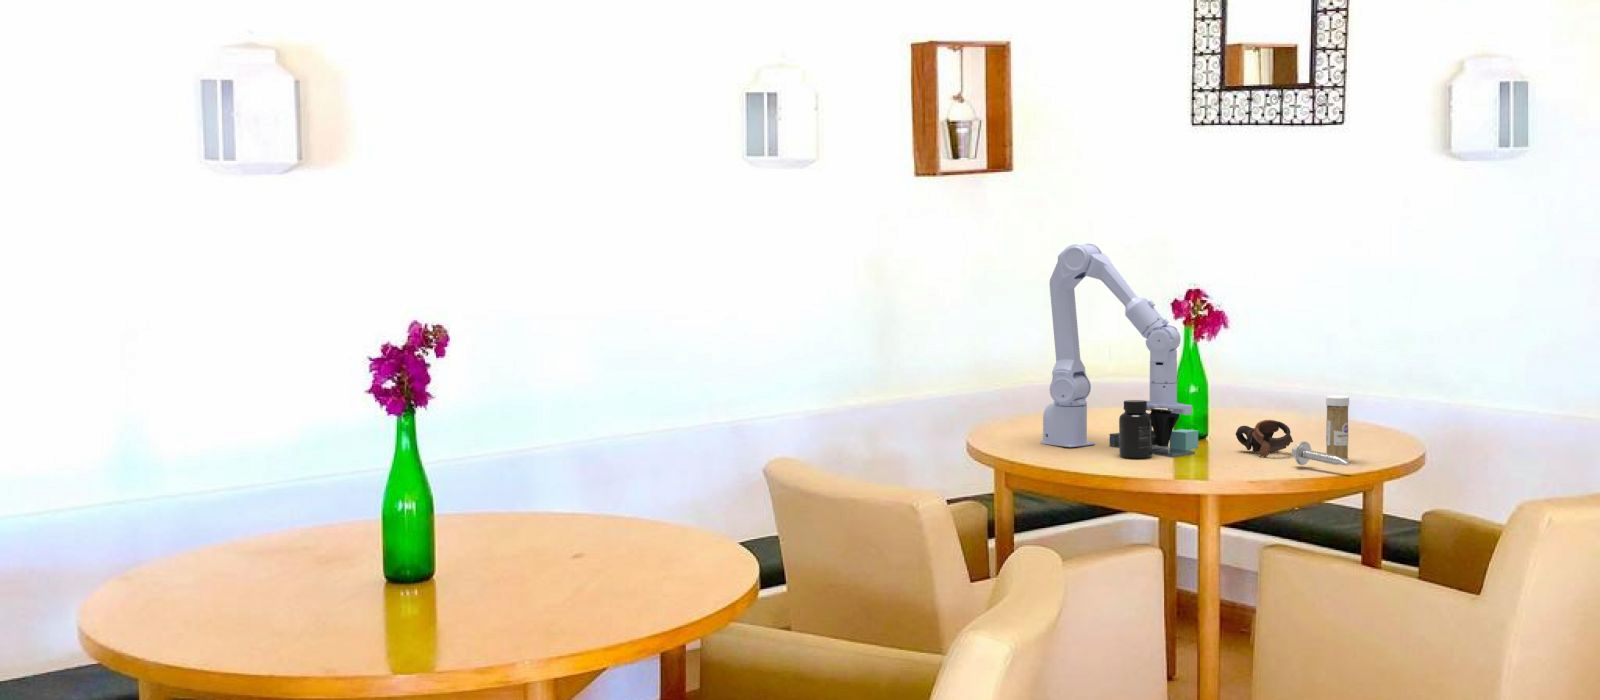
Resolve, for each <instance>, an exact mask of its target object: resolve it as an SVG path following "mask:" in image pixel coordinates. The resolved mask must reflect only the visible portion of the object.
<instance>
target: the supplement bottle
mask: <svg viewBox="0 0 1600 700" xmlns="http://www.w3.org/2000/svg"><path fill="white" fill-rule="evenodd" d="M1147 401H1148V400H1143V399H1129V400H1128V399H1127V400H1124V401H1123V407H1122V408H1123V409H1122V410H1123V411H1124V412H1123V413H1121V414H1120V416H1119V418H1118V431H1119V432H1118V433H1119V448H1118V449H1119V456H1120V458H1123V459H1128V460H1129V459H1130V460H1143V459H1150V458H1152V456H1153V454H1152V430H1153V427H1152V418H1151V416H1150V415H1149V413H1148V412H1147V411H1148V410H1147Z"/></svg>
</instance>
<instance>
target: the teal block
mask: <svg viewBox="0 0 1600 700" xmlns="http://www.w3.org/2000/svg"><path fill="white" fill-rule="evenodd" d="M1169 448H1172V449H1180V450H1188V451H1192V450H1194V449H1199V430H1196V429H1184V428H1182V429H1181V428H1180V429H1175V430H1174V429H1173V430H1172V433H1171V437H1170V440H1169Z"/></svg>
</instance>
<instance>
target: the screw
mask: <svg viewBox="0 0 1600 700" xmlns="http://www.w3.org/2000/svg"><path fill="white" fill-rule="evenodd" d="M1326 453H1327V452H1325V453H1324V452H1321V451H1316V450H1312V447H1311V445H1310V443H1309V442H1308V441H1300V442H1299V443H1298V445H1297V444H1296V445H1294V446H1293V447H1292V449H1291V456H1292V457H1293V459H1295V462H1296V464H1298V465H1300V466H1305V465H1306V464H1307V463H1308V462H1310V460H1311V461H1316V462H1320V463H1326V464H1331V465H1335V466H1336V465H1337V466H1338V465H1341V466H1348V465H1349V463H1350V461H1349V460H1350V459H1349V458H1348V459H1344V458H1339V457H1338V456H1336V455H1331V454H1326Z"/></svg>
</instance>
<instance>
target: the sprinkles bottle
mask: <svg viewBox="0 0 1600 700" xmlns="http://www.w3.org/2000/svg"><path fill="white" fill-rule="evenodd" d="M1325 400H1326V401H1325V405H1326V420H1325V421H1326V422H1325V424H1326V429H1325V431H1326V434H1325V435H1326V436H1325V438H1326V439H1325V440H1326V441H1325V443H1326V444H1325V445H1326V452H1325V453H1326V454H1331V455H1336V456H1338V457H1339V458H1344V459H1348V460H1349V457H1348V455H1349V454H1348V453H1349V406H1350V397H1349V396H1347V395H1336V394H1335V395H1327V396H1326V399H1325Z"/></svg>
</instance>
